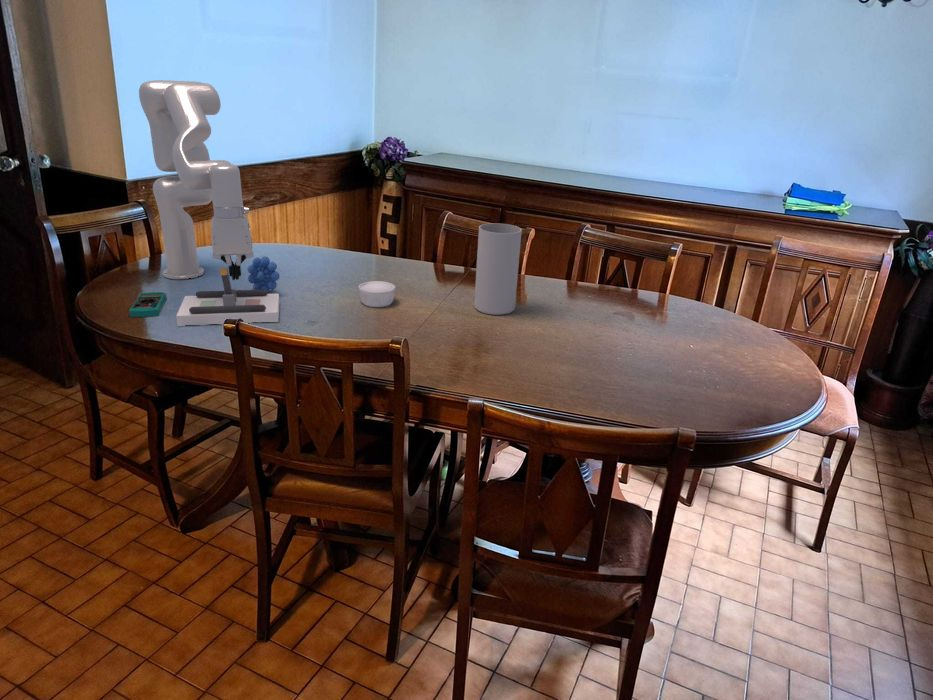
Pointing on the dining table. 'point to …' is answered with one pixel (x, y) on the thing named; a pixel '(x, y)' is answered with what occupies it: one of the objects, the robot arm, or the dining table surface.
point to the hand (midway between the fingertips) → (235, 278)
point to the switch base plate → (218, 318)
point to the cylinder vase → (497, 268)
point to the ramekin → (377, 293)
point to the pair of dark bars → (229, 308)
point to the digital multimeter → (148, 304)
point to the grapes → (263, 274)
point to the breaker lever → (226, 281)
